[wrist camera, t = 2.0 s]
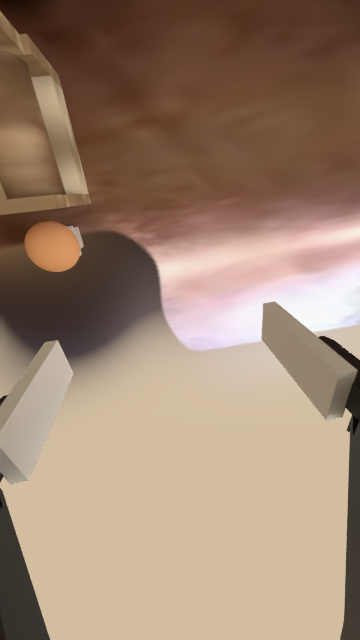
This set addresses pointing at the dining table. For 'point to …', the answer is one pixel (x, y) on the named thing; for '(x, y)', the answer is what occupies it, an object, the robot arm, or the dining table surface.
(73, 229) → the grey egg cup
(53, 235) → the ball
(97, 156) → the dining table surface
